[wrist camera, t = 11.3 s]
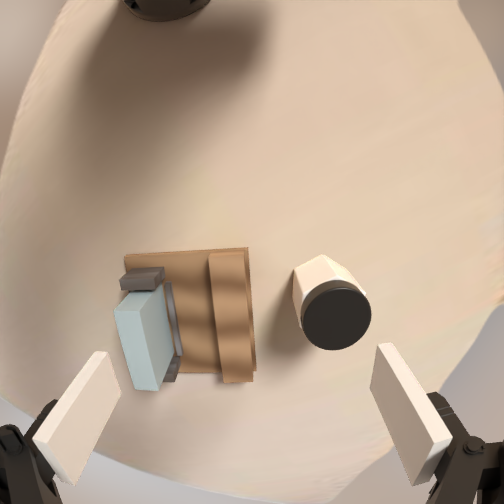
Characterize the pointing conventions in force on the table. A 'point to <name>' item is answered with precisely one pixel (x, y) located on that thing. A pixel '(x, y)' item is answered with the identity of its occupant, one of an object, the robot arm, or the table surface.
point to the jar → (329, 304)
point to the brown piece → (202, 308)
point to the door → (145, 337)
